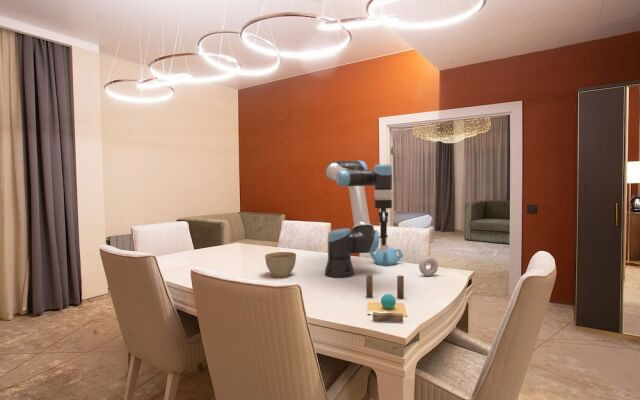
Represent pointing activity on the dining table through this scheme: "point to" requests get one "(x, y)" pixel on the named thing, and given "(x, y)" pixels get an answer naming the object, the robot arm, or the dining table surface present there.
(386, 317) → the brown rectangular bar
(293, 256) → the planter bowl
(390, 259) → the teapot
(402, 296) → the right post
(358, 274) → the dining table surface
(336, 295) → the dining table surface
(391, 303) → the ball
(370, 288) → the left post
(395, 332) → the dining table surface
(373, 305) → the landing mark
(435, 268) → the donut
